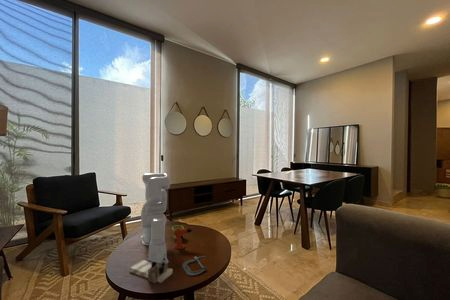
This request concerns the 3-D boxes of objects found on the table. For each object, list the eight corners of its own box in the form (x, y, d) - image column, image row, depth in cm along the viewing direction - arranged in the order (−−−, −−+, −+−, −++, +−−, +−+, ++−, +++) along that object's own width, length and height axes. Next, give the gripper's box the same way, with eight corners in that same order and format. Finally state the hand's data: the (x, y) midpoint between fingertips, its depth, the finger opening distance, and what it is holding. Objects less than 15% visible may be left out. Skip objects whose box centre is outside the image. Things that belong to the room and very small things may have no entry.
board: (129, 271, 130) (129, 267, 130) (142, 263, 139) (142, 259, 139) (160, 282, 120) (160, 278, 120) (172, 273, 129) (172, 269, 129)
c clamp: (180, 261, 143) (180, 257, 143) (205, 257, 149) (205, 253, 149) (186, 278, 124) (186, 274, 124) (214, 272, 131) (214, 268, 131)
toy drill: (199, 246, 160) (197, 226, 160) (174, 250, 159) (171, 230, 159) (200, 243, 165) (197, 224, 165) (175, 247, 164) (172, 227, 164)
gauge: (148, 280, 121) (148, 268, 121) (160, 271, 130) (160, 259, 130) (154, 283, 119) (155, 270, 118) (167, 273, 128) (167, 261, 127)
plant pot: (172, 241, 173) (173, 230, 173) (170, 236, 181) (171, 226, 181) (184, 239, 177) (184, 228, 176) (182, 235, 185) (182, 224, 185)
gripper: (141, 239, 124) (141, 271, 124) (165, 246, 116) (164, 279, 117) (151, 235, 131) (151, 265, 131) (174, 240, 123) (173, 272, 123)
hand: (157, 271), depth 124 cm, fingers closed on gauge, 5 cm apart
